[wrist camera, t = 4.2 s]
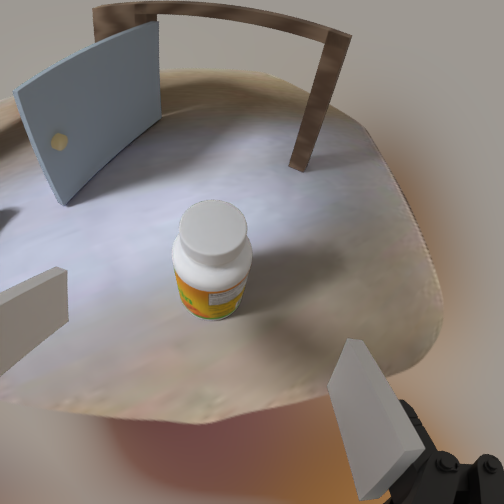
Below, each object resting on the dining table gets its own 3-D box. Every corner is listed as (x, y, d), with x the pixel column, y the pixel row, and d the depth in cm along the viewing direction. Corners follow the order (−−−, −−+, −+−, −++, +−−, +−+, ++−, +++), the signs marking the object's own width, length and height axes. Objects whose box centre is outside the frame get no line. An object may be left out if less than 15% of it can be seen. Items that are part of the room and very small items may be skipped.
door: (150, 114, 37) (146, 21, 24) (166, 119, 37) (164, 21, 24) (54, 200, 27) (8, 90, 14) (68, 209, 27) (21, 92, 14)
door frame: (104, 105, 38) (92, 8, 23) (112, 100, 39) (102, 4, 24) (303, 172, 34) (349, 37, 19) (307, 163, 35) (352, 35, 20)
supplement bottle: (171, 276, 25) (156, 204, 17) (227, 257, 27) (236, 182, 18) (193, 331, 23) (183, 280, 14) (252, 308, 24) (276, 247, 16)
